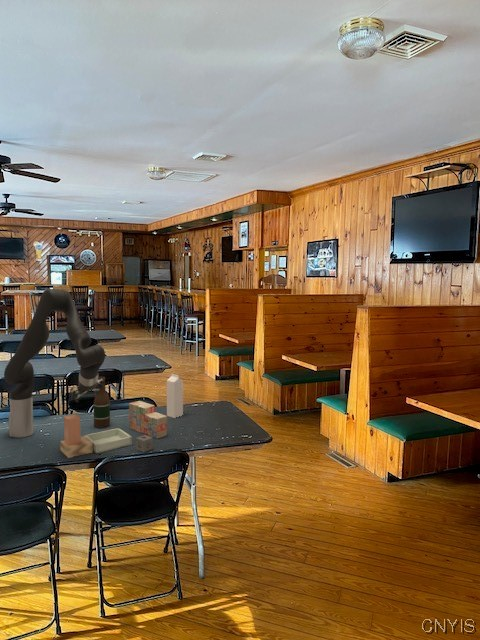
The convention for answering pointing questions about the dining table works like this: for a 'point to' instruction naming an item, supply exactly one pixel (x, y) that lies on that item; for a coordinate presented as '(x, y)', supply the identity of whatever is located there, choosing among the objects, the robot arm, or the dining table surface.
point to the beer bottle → (102, 408)
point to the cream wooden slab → (77, 448)
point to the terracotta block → (72, 430)
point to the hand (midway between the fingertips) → (86, 396)
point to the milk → (174, 396)
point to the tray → (109, 440)
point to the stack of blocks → (147, 419)
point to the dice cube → (144, 443)
